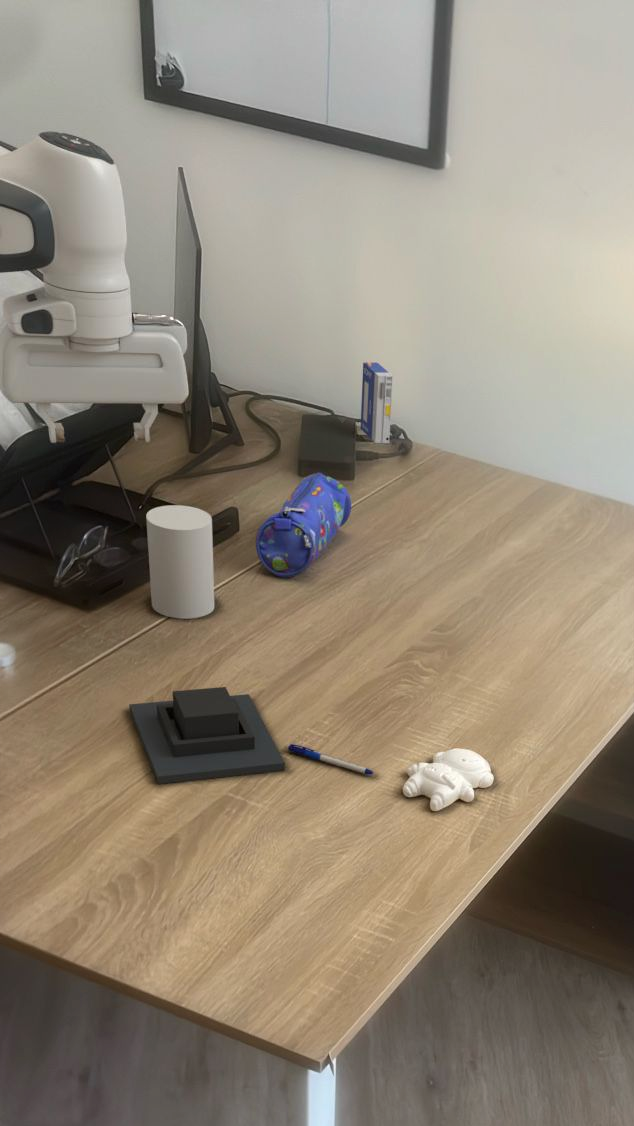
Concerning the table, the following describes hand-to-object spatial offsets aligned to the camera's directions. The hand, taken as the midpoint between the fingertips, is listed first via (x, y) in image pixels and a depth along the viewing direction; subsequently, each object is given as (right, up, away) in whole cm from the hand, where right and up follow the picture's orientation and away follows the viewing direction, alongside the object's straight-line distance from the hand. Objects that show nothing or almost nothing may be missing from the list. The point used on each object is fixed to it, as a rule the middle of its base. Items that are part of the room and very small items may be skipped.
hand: (100, 441), depth 147 cm
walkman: (+21, +36, +87) cm, 96 cm away
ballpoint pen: (+27, -38, -2) cm, 46 cm away
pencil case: (+16, 0, +42) cm, 45 cm away
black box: (+13, -34, -2) cm, 37 cm away
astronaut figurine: (+40, -40, -2) cm, 57 cm away
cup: (+3, -13, +24) cm, 27 cm away
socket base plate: (+13, -35, -2) cm, 37 cm away
